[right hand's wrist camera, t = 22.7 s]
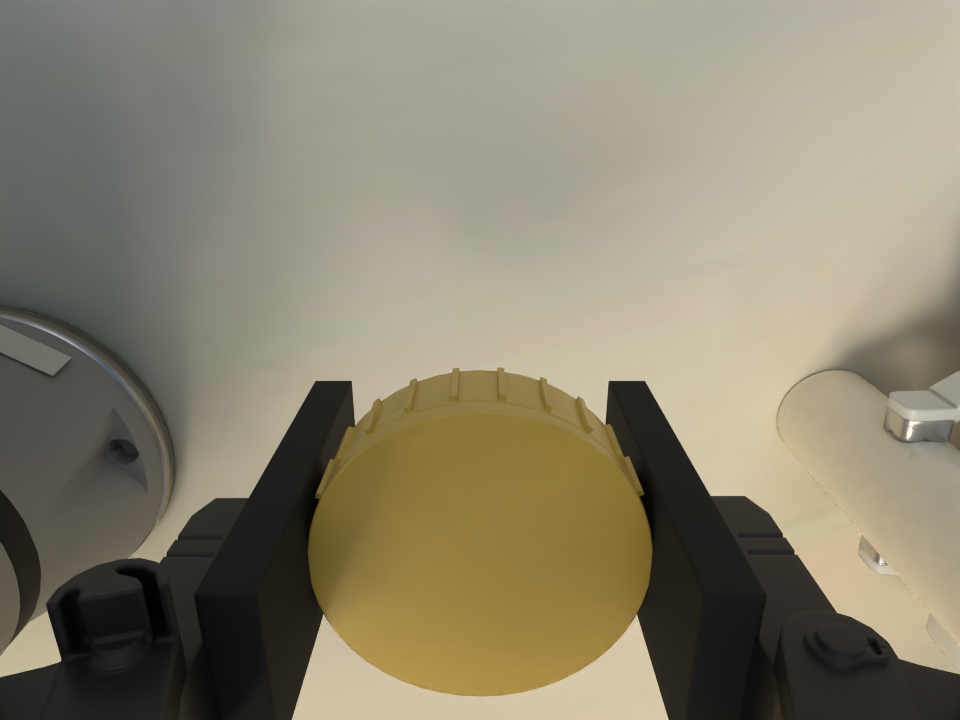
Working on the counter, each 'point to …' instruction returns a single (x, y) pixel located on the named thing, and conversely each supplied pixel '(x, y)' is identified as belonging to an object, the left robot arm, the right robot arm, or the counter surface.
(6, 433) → the right robot arm
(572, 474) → the lid
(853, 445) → the jar
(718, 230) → the counter surface
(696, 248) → the counter surface
